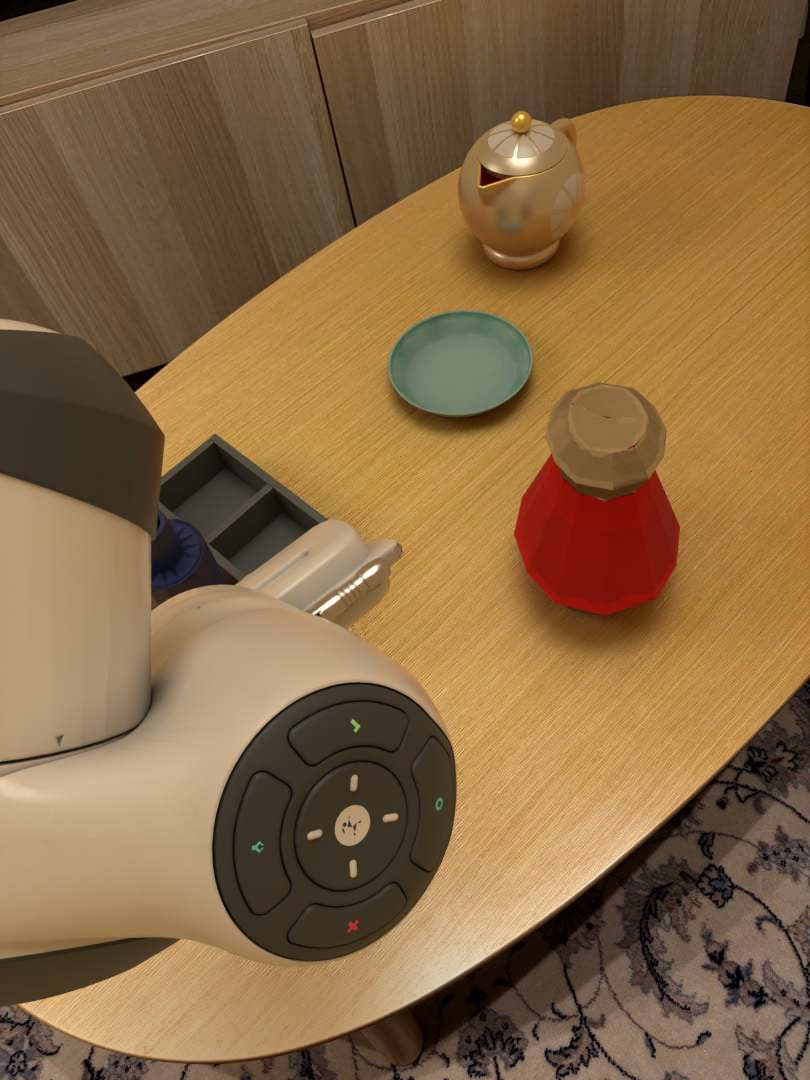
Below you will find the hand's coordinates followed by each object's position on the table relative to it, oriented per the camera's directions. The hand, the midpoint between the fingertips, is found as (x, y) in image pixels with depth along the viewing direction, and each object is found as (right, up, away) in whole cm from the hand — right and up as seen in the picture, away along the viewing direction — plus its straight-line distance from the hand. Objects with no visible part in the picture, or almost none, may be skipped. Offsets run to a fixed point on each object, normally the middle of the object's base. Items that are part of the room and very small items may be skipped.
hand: (178, 643), depth 49 cm
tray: (-5, +3, +32) cm, 32 cm away
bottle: (+29, +3, +28) cm, 40 cm away
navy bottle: (-5, -2, +28) cm, 28 cm away
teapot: (+27, +41, +52) cm, 71 cm away
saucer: (+19, +23, +42) cm, 51 cm away
